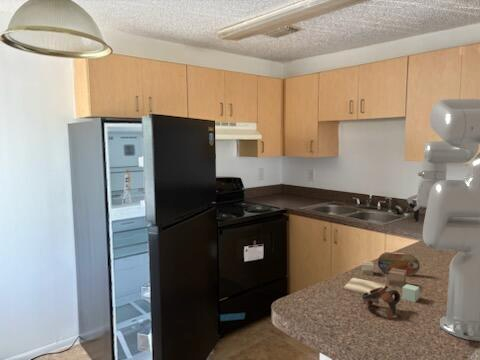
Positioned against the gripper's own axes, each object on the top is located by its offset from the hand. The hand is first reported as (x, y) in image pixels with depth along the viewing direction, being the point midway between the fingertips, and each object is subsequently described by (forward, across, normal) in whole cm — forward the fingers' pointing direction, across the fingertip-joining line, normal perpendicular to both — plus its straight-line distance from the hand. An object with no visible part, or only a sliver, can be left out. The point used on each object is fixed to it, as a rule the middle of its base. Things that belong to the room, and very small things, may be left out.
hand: (431, 222), depth 134 cm
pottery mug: (+22, -8, -34) cm, 42 cm away
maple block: (+22, -21, -4) cm, 31 cm away
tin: (+23, -11, +3) cm, 25 cm away
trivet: (+22, -17, -20) cm, 34 cm away
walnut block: (+22, -9, -9) cm, 26 cm away
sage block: (+22, -2, -20) cm, 30 cm away
